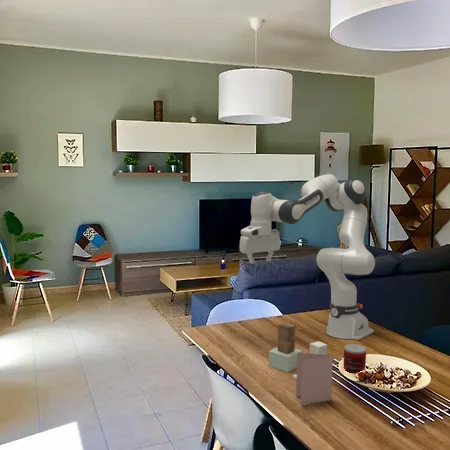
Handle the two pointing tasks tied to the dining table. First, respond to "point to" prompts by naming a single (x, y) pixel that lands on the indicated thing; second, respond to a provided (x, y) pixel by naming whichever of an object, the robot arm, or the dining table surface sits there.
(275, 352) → the sage block
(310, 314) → the dining table surface
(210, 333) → the dining table surface
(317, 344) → the offwhite post
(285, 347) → the walnut post
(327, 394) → the greeting card
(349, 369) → the canned food
